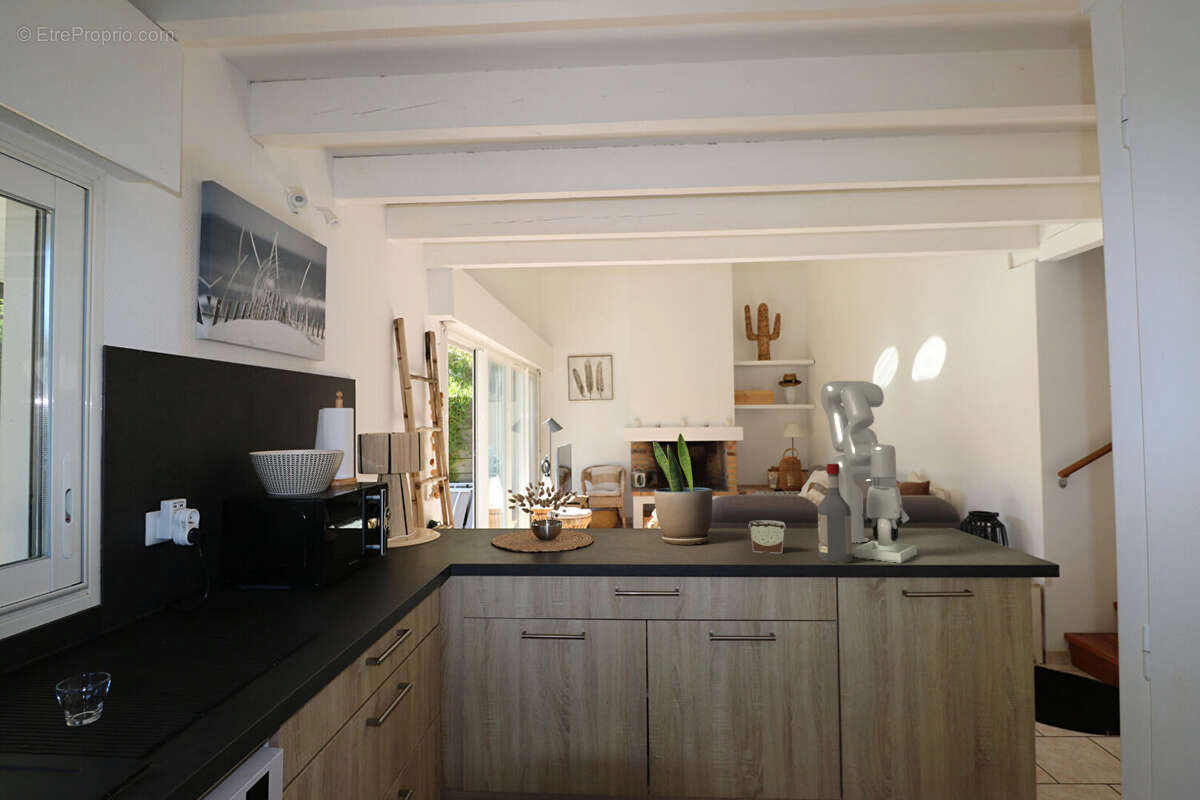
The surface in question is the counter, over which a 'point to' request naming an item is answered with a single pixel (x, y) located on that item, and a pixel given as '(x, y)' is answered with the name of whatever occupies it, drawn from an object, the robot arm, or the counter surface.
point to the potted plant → (681, 500)
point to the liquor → (834, 522)
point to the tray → (885, 552)
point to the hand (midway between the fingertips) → (885, 539)
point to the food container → (767, 535)
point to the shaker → (884, 532)
